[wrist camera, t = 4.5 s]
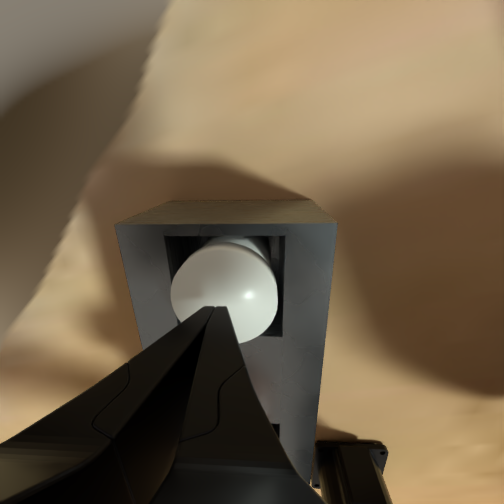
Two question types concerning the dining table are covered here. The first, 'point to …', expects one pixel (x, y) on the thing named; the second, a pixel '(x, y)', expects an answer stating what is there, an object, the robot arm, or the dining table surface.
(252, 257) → the plunger
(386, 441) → the dining table surface
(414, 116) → the dining table surface
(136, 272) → the press block
